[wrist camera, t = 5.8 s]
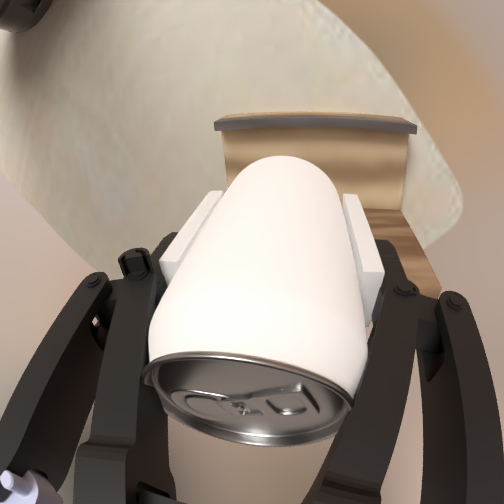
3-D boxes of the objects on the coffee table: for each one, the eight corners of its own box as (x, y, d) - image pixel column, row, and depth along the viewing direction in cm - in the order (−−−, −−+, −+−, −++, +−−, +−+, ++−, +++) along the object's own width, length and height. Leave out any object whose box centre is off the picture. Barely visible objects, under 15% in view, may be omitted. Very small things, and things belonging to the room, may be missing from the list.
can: (208, 180, 16) (81, 351, 6) (315, 135, 13) (342, 308, 4) (257, 266, 19) (210, 448, 9) (353, 236, 16) (384, 439, 7)
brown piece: (226, 115, 33) (163, 153, 18) (401, 117, 29) (477, 160, 14) (236, 207, 40) (196, 295, 25) (392, 209, 36) (436, 300, 21)
